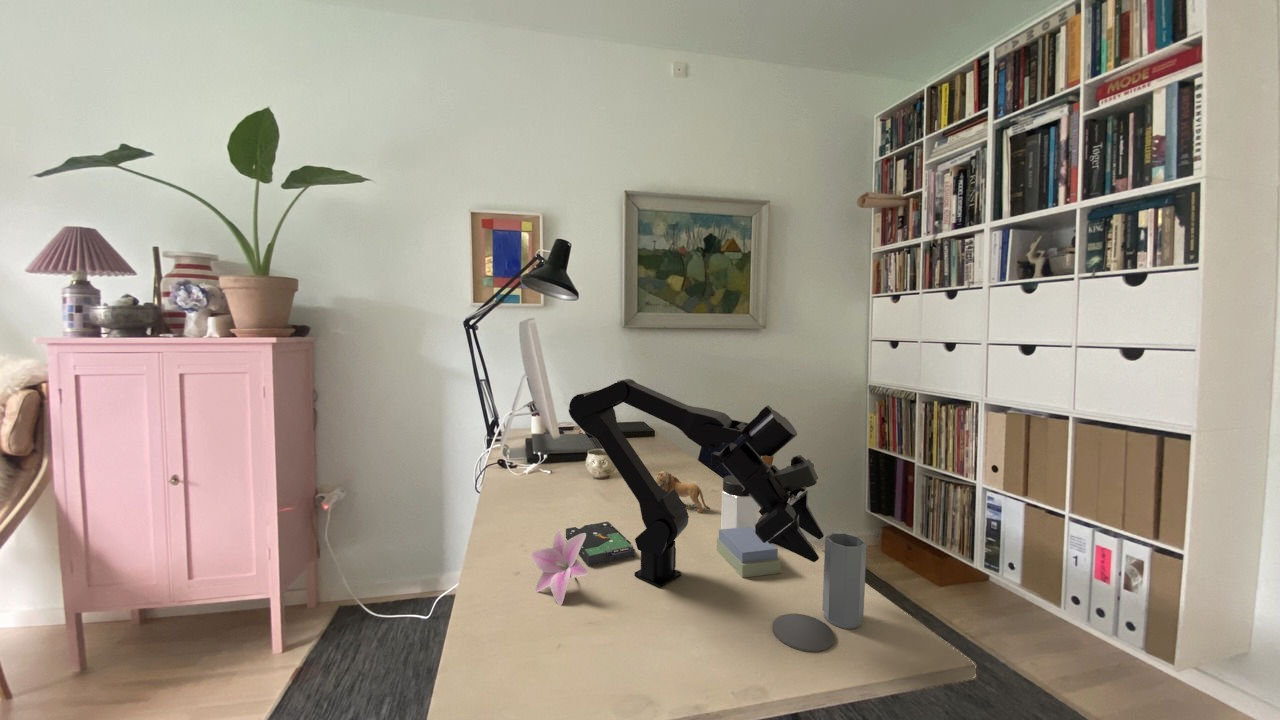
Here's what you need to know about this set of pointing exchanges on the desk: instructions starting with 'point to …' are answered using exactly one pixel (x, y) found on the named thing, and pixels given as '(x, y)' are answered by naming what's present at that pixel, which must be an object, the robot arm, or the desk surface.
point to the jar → (737, 506)
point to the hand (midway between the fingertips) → (819, 548)
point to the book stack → (748, 552)
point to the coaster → (803, 632)
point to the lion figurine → (681, 488)
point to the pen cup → (844, 580)
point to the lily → (559, 564)
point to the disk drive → (602, 543)
